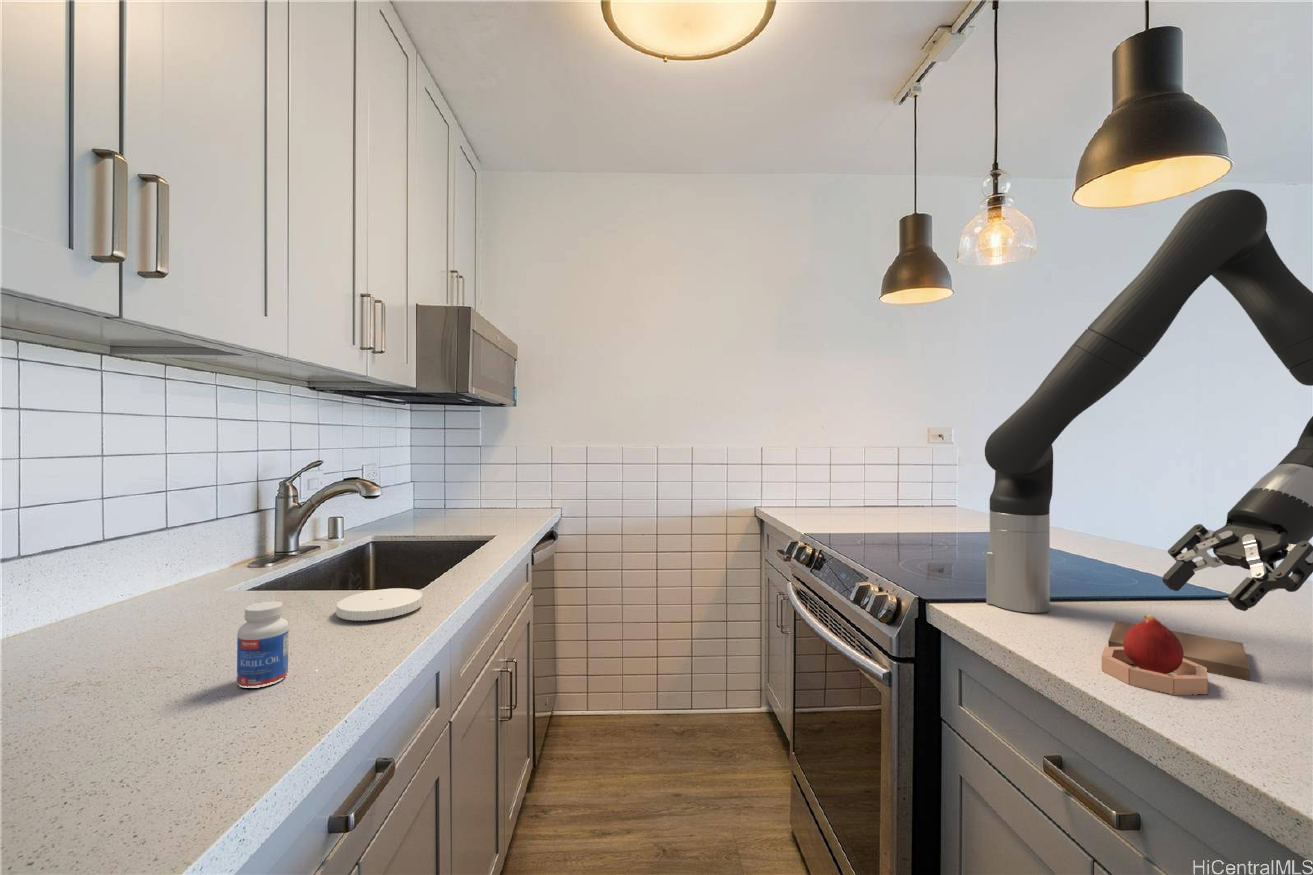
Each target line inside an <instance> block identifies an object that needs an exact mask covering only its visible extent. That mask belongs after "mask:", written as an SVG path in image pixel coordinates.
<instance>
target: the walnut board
mask: <svg viewBox="0 0 1313 875" xmlns="http://www.w3.org/2000/svg"><path fill="white" fill-rule="evenodd" d="M1136 624H1137V623H1132V622H1126V621H1122V620H1114V624H1113V627H1112V630H1111V633H1110V635H1109V638H1108V642H1107V643H1108V644H1107V645H1108V646H1107V647H1124V646H1123V640H1124V636H1125V634H1126V632H1127V631H1128V630H1129V629H1130V628H1131V627H1132V626H1134V625H1136ZM1169 630H1170V631H1172V632H1173V633H1174V634H1175V636H1176V637H1177V638H1178V640H1179V641H1180V643H1181V645H1182V647H1183V652H1184V656H1183V658H1184V659H1187V660H1189V661H1192V662H1194V663H1196V664H1199V665H1201V666H1204V667H1206V668H1207V671H1208V672H1207V673H1211V672H1212V673H1211V674H1216V673H1218V674H1217V675H1220V674H1223V675H1222V676H1225V675H1227V676H1226V677H1230V676H1232V678H1235V679H1240V678H1242V679H1241V680H1244V679H1246V680H1245V681H1250V680H1251V668H1250V664H1249V661H1248V658H1247V653H1246V650H1245V646H1244V643H1243V642H1239V641H1232V640H1228V639H1221V638H1216V637H1211V636H1205V635H1200V634H1194V633H1193V634H1192V633H1188V632H1182V631H1177V630H1171V629H1169Z"/></svg>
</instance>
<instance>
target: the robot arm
mask: <svg viewBox="0 0 1313 875" xmlns="http://www.w3.org/2000/svg"><path fill="white" fill-rule="evenodd" d="M1267 223H1268V210H1267V208H1266V206H1265V203H1264V201H1263V200H1262V199H1261V198H1260V197H1259V196H1258V195H1257V194H1255V193H1253V192H1251V191H1249V190H1246V189H1239V188H1238V189H1237V188H1235V189H1227V190H1226V189H1225V190H1221V191H1218V192H1215V193H1213V194H1210V195H1208V196H1206V197H1204V198H1202V199H1201V200H1199V201H1197V202H1196V203H1194V204H1193V205H1192V206H1191V207H1189V208H1188V210H1186V211H1185V213H1184V214H1183V215H1182V216H1181V217H1180V218H1179V220H1178V222H1176V225H1174V227H1173V229H1172V230H1171V232H1170V233H1169V234H1168V236H1167V237H1166V238H1165V240H1164V241H1163V243H1162V244H1161V245H1160V247H1159V248H1158V249H1157V251H1156V252H1155V253H1154V255H1153V256H1152V257H1151V258H1150V260H1149V261H1148V263H1147V264H1146V265H1145V267H1143V269H1142V270H1141V271H1140V272H1139V274H1137V276H1136V277H1134V279H1133V280H1132V281H1131V282H1130V283H1129V284H1128V285H1127V286H1126V287H1125V288H1124V289H1123V290H1122V291H1120V293H1119V294H1118V295H1117V296H1116V297H1115V298H1114V299H1113V300H1112V301H1111V302H1110V303H1109V304H1108V306H1106V307H1105V309H1104V310H1103V311H1102V312H1101V313H1100V314H1099V315H1098V316H1097V317H1096V318H1095V319H1094V320H1093V321H1092V322H1091V323H1090V325H1089V326H1088V327H1087V328H1086V329H1085V330H1084V331H1083V332H1082V333H1081V334H1080V336H1079V337H1077V339H1076V340H1075V341H1074V342H1073V344H1072V345H1071V346H1070V347H1069V349H1067V351H1066V352H1065V353H1064V354H1063V356H1062V357H1061V358H1060V359H1059V361H1058V362H1057V363H1056V364H1055V366H1054V367H1053V368H1052V369H1051V371H1049V373H1048V374H1047V376H1045V378H1044V379H1043V381H1042V382H1041V383H1040V385H1039V386H1038V388H1037V389H1036V390H1035V391H1034V392H1033V393H1032V394H1031V396H1030V397H1029V398H1028V399H1027V400H1026V401H1025V402H1024V403H1023V404H1021V406H1020V407H1019V408H1017V409H1016V411H1015V412H1013V413H1012V414H1011V415H1010V416H1009V417H1008V418H1007V419H1006V420H1004V422H1002V423H1001V424H1000V425H999V426H998V427H997V428H995V430H994V431H993V432H991V434H990V435H989V437H988V438H987V440H986V442H985V446H984V456H985V457H984V458H985V461H986V463H987V464H988V466H990V468H991V469H992V470H993V471H994V484H993V489H992V492H991V494H990V497H989V550H988V551H987V552H986V557H985V558H986V559H985V560H986V562H985V563H986V566H985V568H986V572H985V574H986V575H985V576H986V579H985V580H986V585H985V586H986V587H985V588H986V592H985V593H986V595H985V597H986V598H985V599H986V604H988V605H994V606H996V607H999V608H1002V609H1005V610H1010V611H1015V612H1019V613H1020V612H1021V613H1033V614H1034V613H1035V614H1038V613H1039V614H1040V613H1047V612H1048V611H1050V606H1051V605H1050V601H1051V596H1050V594H1051V592H1050V591H1051V590H1050V584H1051V583H1050V582H1051V580H1050V572H1051V571H1050V569H1051V568H1050V562H1051V561H1050V555H1051V553H1050V547H1051V546H1050V542H1051V540H1050V536H1051V535H1050V533H1051V531H1050V529H1051V527H1050V524H1051V523H1050V515H1051V514H1050V512H1051V510H1050V505H1051V500H1052V496H1053V488H1054V486H1053V484H1054V483H1053V482H1054V480H1053V479H1054V450H1053V449H1054V447H1053V444H1054V442H1055V441H1056V440H1057V439H1058V437H1059V436H1060V435H1061V434H1062V433H1063V432H1064V431H1065V429H1066V428H1067V427H1068V426H1069V425H1070V424H1071V423H1072V422H1073V421H1074V420H1075V419H1076V418H1077V417H1078V416H1079V415H1081V414H1082V413H1083V412H1085V411H1086V410H1087V409H1089V408H1090V407H1092V406H1093V405H1095V404H1096V403H1097V402H1099V400H1101V399H1102V398H1103V397H1105V396H1107V395H1108V394H1109V393H1110V392H1111V391H1113V389H1115V388H1116V387H1117V386H1118V385H1120V384H1121V383H1122V382H1123V381H1124V380H1125V379H1126V378H1127V377H1128V376H1129V375H1130V374H1131V373H1133V371H1134V370H1135V369H1136V368H1137V367H1138V366H1139V365H1140V364H1141V363H1142V362H1143V360H1144V359H1145V358H1147V357H1148V356H1149V354H1150V353H1151V352H1152V350H1154V348H1155V347H1156V346H1157V345H1158V343H1159V342H1160V341H1161V339H1162V337H1164V335H1165V333H1166V332H1167V331H1168V330H1169V328H1170V327H1171V325H1172V324H1173V322H1174V320H1175V319H1176V317H1177V316H1178V314H1179V313H1180V311H1181V310H1182V309H1183V306H1184V305H1185V304H1186V302H1187V301H1188V300H1189V299H1190V297H1191V296H1192V295H1193V294H1194V293H1195V291H1197V290H1198V289H1199V287H1200V286H1201V285H1203V283H1204V282H1206V280H1207V279H1208V278H1210V277H1211V276H1212V277H1213V278H1214V279H1215V280H1216V281H1217V282H1218V283H1219V284H1221V285H1222V286H1223V288H1225V289H1226V290H1227V291H1228V292H1229V293H1230V294H1231V295H1232V297H1233V298H1234V299H1235V300H1236V301H1237V302H1238V304H1239V305H1240V307H1242V309H1243V310H1244V312H1245V313H1246V315H1247V316H1248V317H1249V319H1250V320H1251V322H1252V323H1253V324H1254V326H1255V328H1256V329H1257V330H1258V332H1259V333H1260V335H1261V336H1262V338H1263V339H1264V341H1265V342H1266V343H1267V345H1268V346H1269V348H1270V349H1271V350H1272V351H1273V353H1274V354H1275V355H1276V356H1277V358H1278V359H1279V361H1280V362H1281V363H1282V364H1283V366H1284V367H1285V369H1287V370H1288V371H1289V373H1290V374H1291V376H1292V377H1293V378H1294V379H1295V380H1296V381H1297V383H1298V382H1299V383H1300V384H1301V385H1303V386H1308V387H1309V386H1310V387H1312V386H1313V291H1311V290H1310V288H1308V287H1307V286H1306V285H1305V284H1303V283H1302V281H1301V280H1300V279H1298V278H1297V277H1296V275H1295V274H1294V273H1293V272H1292V271H1291V270H1290V269H1289V268H1288V266H1287V265H1286V264H1285V263H1284V261H1283V260H1282V258H1281V257H1280V256H1279V254H1278V252H1277V250H1276V248H1275V246H1274V245H1273V242H1272V240H1271V238H1270V236H1269V234H1268V232H1267V225H1268V224H1267ZM1312 538H1313V415H1312V416H1311V417H1310V418H1309V420H1308V422H1307V423H1306V425H1305V427H1304V429H1303V430H1302V433H1301V434H1300V437H1299V438H1298V441H1297V444H1296V446H1295V447H1293V448H1292V449H1291V451H1289V452H1288V453H1287V454H1286V456H1284V457H1283V459H1282V460H1281V461H1280V462H1279V463H1278V464H1277V465H1276V466H1275V467H1274V468H1273V469H1271V470H1270V471H1268V472H1266V474H1265V475H1263V476H1262V477H1260V479H1259V480H1258V481H1257V482H1256V483H1255V484H1254V485H1253V486H1252V487H1251V488H1250V489H1249V490H1248V491H1247V492H1246V493H1245V494H1244V495H1243V496H1242V497H1241V498H1240V499H1239V500H1238V502H1236V504H1235V505H1234V506H1233V507H1232V508H1231V509H1229V511H1228V512H1227V515H1226V523H1225V525H1223V526H1222V527H1220V528H1218V529H1216V530H1211V529H1207V528H1206V527H1205V526H1204V525H1203V524H1201V523H1198V524H1195V525H1194V526H1192V527H1191V528H1190V529H1189V530H1188V531H1186V532H1185V534H1183V536H1182V537H1181V538H1180V539H1178V540H1177V541H1176V542H1175V543H1174V544H1173V545H1172V546H1171V547H1170V548H1168V550H1167V553H1168V555H1170V556H1171V558H1173V560H1174V561H1175V563H1174V564H1173V565H1172V566H1171V567H1170V568H1169V569H1168V570H1167V571H1166V572H1165V573H1164V574H1163V576H1162V583H1163V584H1164V585H1165V586H1167V588H1168V589H1169V590H1171V591H1175V592H1178V591H1181V589H1182V588H1183V587H1184V585H1185V584H1187V583H1188V582H1189V581H1190V580H1191V579H1192V577H1193V576H1194V575H1196V573H1195V572H1197V571H1201V570H1203V569H1207V568H1216V569H1217V568H1219V567H1222V566H1224V565H1225V566H1231V567H1240V568H1242V569H1244V570H1249V571H1250V575H1251V577H1248V576H1246V577H1245V578H1244V579H1243V580H1242V582H1240V583H1239V584H1238V585H1237V587H1236V588H1235V589H1234V590H1232V592H1231V593H1230V594H1229V595H1228V596H1227V601H1228V602H1229V603H1230V604H1231V605H1232V606H1233V607H1234V608H1235V609H1236V610H1239V611H1243V612H1246V611H1247V610H1249V609H1252V608H1253V607H1255V606H1256V605H1257V604H1258V603H1259V602H1260V601H1261V600H1262V599H1263V598H1264V597H1265V596H1266V595H1267V594H1268V592H1275V591H1277V590H1278V589H1279V590H1285V591H1287V592H1289V593H1293V592H1297V591H1298V590H1299V589H1300V588H1301V587H1302V586H1303V585H1304V583H1305V582H1306V581H1307V580H1308V579H1309V577H1310V576H1311V575H1312V574H1313V545H1312V543H1310V542H1309V541H1310V540H1311V539H1312ZM1185 549H1186V551H1185V552H1182V551H1183V550H1185ZM1211 549H1212V552H1213V554H1214V555H1215V556H1212V555H1211V554H1210V553H1208V551H1209V550H1211ZM1199 557H1200V558H1202V559H1199V560H1196V561H1194V559H1196V558H1199ZM1279 561H1281V562H1280V563H1279V565H1277V562H1279Z"/></svg>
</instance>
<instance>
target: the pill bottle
mask: <svg viewBox="0 0 1313 875" xmlns="http://www.w3.org/2000/svg"><path fill="white" fill-rule="evenodd" d="M283 608H284V604H283V602H281V601H264V602H258V603H254V604H250V605H248V606H246V607H245V608H244V620H245V621H246V623H243V624H242V625H240V627H239V628H238V630H237V641H236V644H237V645H236V646H237V647H236V650H237V651H236V685H237V684H239V685H241V686H247V687H248V686H257V685H263V684H267V683H270V682H275V681H277V680H279V679H281V678H284V677H285V676H286V675H287V673H288V674H289V638H290V636H289V635H290V634H289V631H290V630H289V625H290V624H289V622H288V621H287V620H286V619H285V618H283V617H281V616H282V615H283V613H284V609H283ZM287 676H288V675H287Z"/></svg>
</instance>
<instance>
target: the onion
mask: <svg viewBox="0 0 1313 875" xmlns="http://www.w3.org/2000/svg"><path fill="white" fill-rule="evenodd" d="M1135 624H1136V625H1134V626H1132V627H1131V628H1130V629H1129V630H1128V631H1127V632H1126V634H1125V636H1124V640H1123V646H1124V651H1125V653H1126V655H1127V657H1128V658H1129V659H1130V660H1131V661H1132V662H1133V663H1134V664H1133V665H1135V666H1136V667H1137V668H1139V669H1144V670H1149V671H1153V672H1158V673H1162V674H1167V675H1170V674H1172V673H1174V672H1173V671H1175V670H1177V669H1178V668H1179V667H1180V665H1181V664H1182V661H1183V656H1184V652H1183V647H1182V645H1181V643H1180V641H1179V640H1178V638H1177V637H1176V636H1175V634H1174V633H1173V632H1172V631H1173V630H1172V631H1170V630H1171V629H1169V628H1168V627H1167V626H1165V625H1164V624H1162V623H1161V622H1160V621H1159V619H1157V618H1156V617H1155V616H1154V615H1151V614H1146V615H1144V621H1141V622H1139V623H1135Z"/></svg>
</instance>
